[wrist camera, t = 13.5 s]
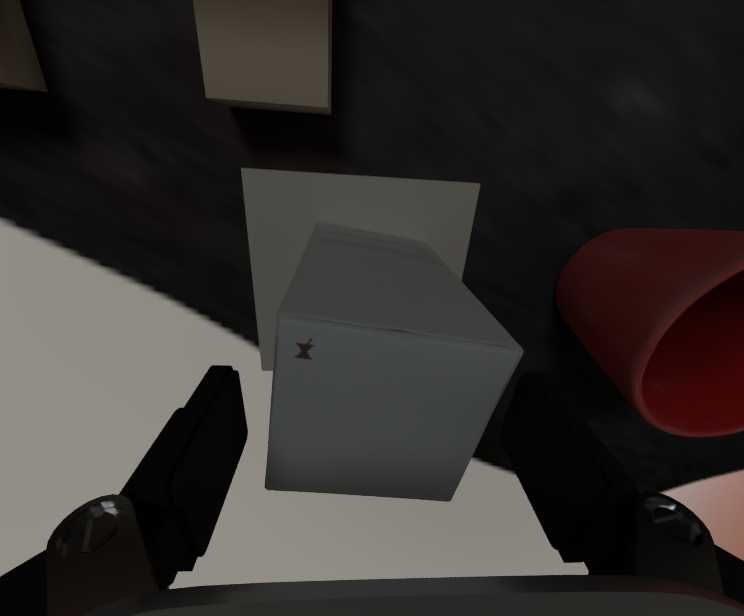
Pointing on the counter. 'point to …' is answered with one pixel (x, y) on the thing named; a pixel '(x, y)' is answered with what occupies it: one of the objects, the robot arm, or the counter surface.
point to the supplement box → (380, 370)
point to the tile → (343, 224)
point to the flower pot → (664, 322)
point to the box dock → (223, 53)
